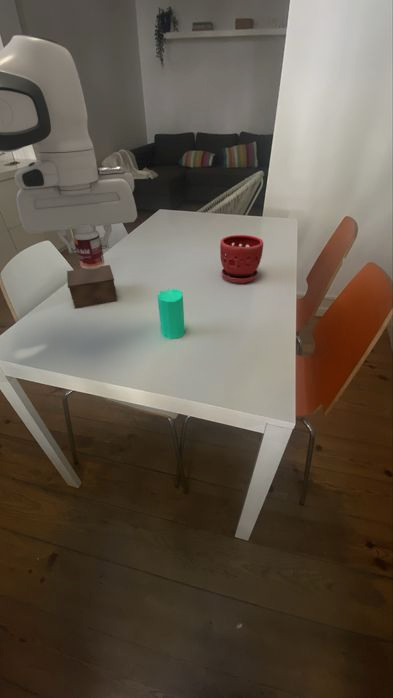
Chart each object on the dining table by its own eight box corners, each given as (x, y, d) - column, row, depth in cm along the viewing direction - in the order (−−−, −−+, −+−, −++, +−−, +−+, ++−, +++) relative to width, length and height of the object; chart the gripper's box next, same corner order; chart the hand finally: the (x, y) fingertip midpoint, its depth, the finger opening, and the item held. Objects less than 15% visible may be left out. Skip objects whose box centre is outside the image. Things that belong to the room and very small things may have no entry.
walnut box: (74, 309, 90) (67, 286, 85) (73, 292, 98) (67, 271, 93) (118, 301, 93) (114, 278, 88) (113, 286, 101) (109, 264, 96)
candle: (186, 326, 82) (184, 283, 74) (182, 339, 77) (180, 295, 70) (163, 324, 82) (159, 282, 75) (158, 338, 78) (153, 294, 70)
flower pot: (266, 282, 100) (271, 244, 93) (227, 288, 98) (229, 250, 90) (249, 266, 110) (252, 231, 103) (214, 271, 108) (214, 235, 100)
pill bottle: (75, 267, 63) (64, 224, 58) (92, 258, 67) (82, 217, 62) (93, 271, 62) (83, 227, 56) (109, 262, 65) (101, 220, 60)
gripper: (129, 162, 59) (138, 238, 67) (8, 171, 54) (35, 251, 62) (134, 168, 54) (144, 248, 62) (3, 177, 49) (33, 263, 58)
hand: (89, 249), depth 62 cm, fingers closed on pill bottle, 5 cm apart
